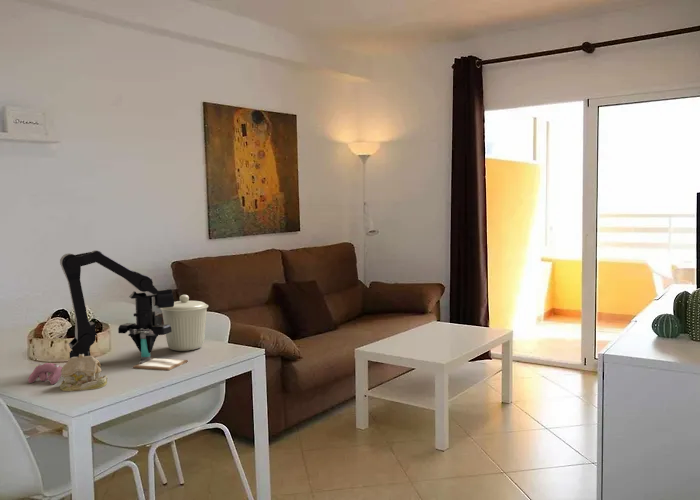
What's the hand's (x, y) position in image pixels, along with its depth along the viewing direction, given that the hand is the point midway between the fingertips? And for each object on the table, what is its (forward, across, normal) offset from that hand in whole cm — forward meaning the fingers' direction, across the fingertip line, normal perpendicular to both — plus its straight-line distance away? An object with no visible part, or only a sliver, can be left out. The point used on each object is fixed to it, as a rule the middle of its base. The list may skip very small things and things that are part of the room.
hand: (145, 352), depth 221 cm
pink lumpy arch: (+3, +14, +33) cm, 36 cm away
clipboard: (+2, -10, +6) cm, 12 cm away
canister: (+3, -5, -19) cm, 20 cm away
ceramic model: (+3, -1, +34) cm, 34 cm away
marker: (+2, 0, 0) cm, 2 cm away
